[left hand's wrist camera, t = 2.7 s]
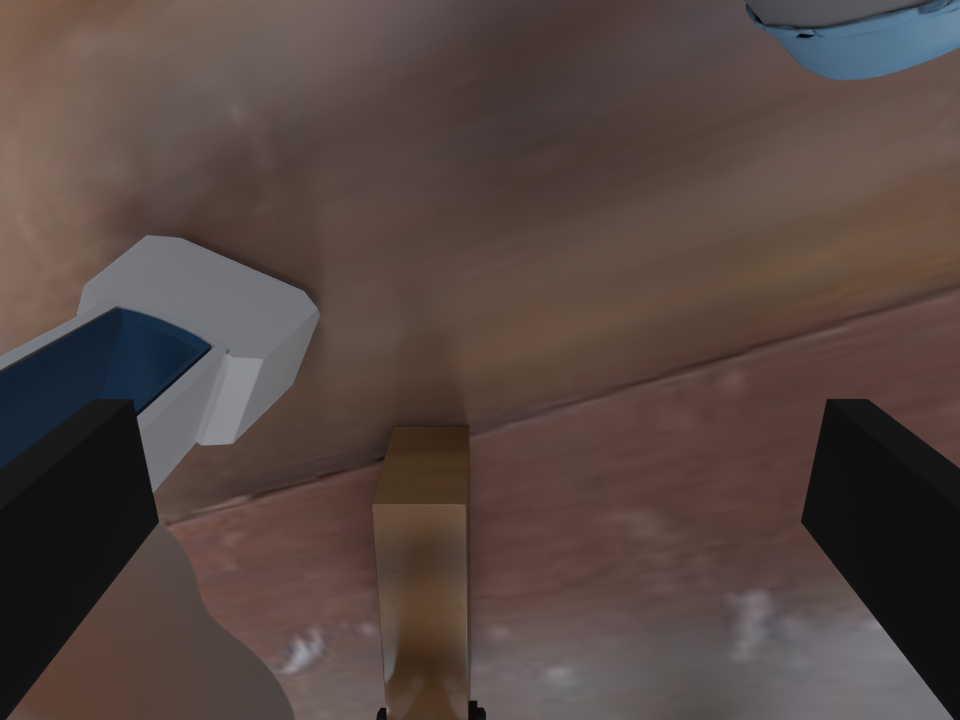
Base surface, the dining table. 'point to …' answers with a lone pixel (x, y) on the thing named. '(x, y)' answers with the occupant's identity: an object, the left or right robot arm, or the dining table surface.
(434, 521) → the box
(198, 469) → the dining table surface
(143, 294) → the electronic device
